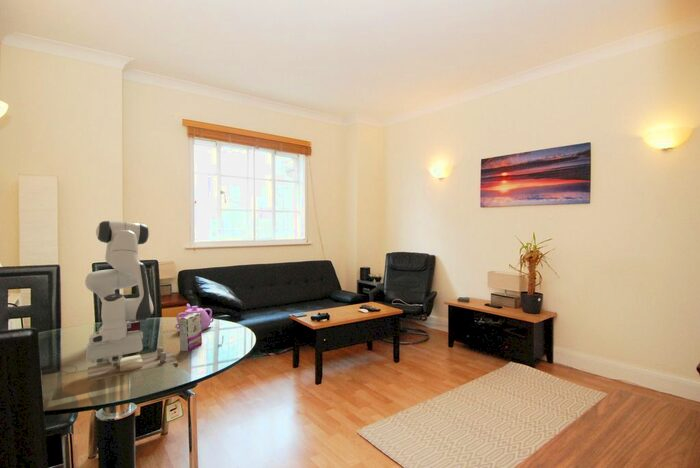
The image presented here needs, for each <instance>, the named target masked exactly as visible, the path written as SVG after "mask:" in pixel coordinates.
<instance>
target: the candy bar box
mask: <svg viewBox="0 0 700 468" xmlns="http://www.w3.org/2000/svg"><path fill="white" fill-rule="evenodd" d="M181 317H182V316H181ZM181 317H179V325H178V327H179V329H178V330H179V346H180V352H190V351H193V350H194V349H196V348H198V347H199V346H201V345H202V344H203V340H202V338H203V336H202V335H203V334H202V330H201V313H192V314H189V315H187V316H184V317H182V318H181Z"/></svg>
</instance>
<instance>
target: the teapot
mask: <svg viewBox="0 0 700 468" xmlns="http://www.w3.org/2000/svg"><path fill="white" fill-rule="evenodd" d="M207 311H209V314H208V312H207ZM192 313H201V331H204V330H207V329H208V328H209V326H210V325H211V324H212V323H213V322H214V318H213V317H212V315H213V310H212V309H211V308H202V307H199V306H198V305H193V306H191V305H190V303H186V309H185V311H184V312H179V313H178V314H177V315H176V321H177V323H176V324H175V326H174V328H175V329H176V330H180V329H179V318H182V317H184V316H187V315H189V314H192ZM180 316H181V317H180Z"/></svg>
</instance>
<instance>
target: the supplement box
mask: <svg viewBox="0 0 700 468" xmlns="http://www.w3.org/2000/svg"><path fill="white" fill-rule="evenodd" d="M128 321H129V322H126V323H127V331H135V330H139V331H141V322H140V321H141V320H128ZM129 354H131V353H129ZM124 355H127V354H123V355H122V356H124Z"/></svg>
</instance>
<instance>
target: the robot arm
mask: <svg viewBox="0 0 700 468" xmlns="http://www.w3.org/2000/svg"><path fill="white" fill-rule="evenodd" d="M95 235H96V237H97V240H98V241H99V242H101V243H104V244H106V249H105V257H104V259H105V261H106V263H107V264H108V265H110V266H111V267H112V268H113V269H101V270H95V271H93V272H92V271H91V272H89V273H88V274H87V276H85V280H84V284H85V287H86V288H87V290H89V291H90V292H93V293H94V294H95V295H97V297H98V298H99V299H100V301H101V315H100V317H101V318H100V319H101V321H102V322H101V323H102V325H101V326H100V328H98V331H96V332H94V333H92V334H90V335H89V337H88V343H87V345H86V350H85V360H86V361H87V362H90V361H97V360H100V359H101V360H102V359H105V358H106V359H107V358H108V361H109V363H112V367H114V366H120V360H121V359H122V358H123V356H124V355H123V354H126V355H128V354H129V353H130V354H133V353H140V352H142V350H143V349H144V347H143V346H144V345H143V341H142V340H143V339H144V332H143V331H142V330H140V331H139V330H135V331H127V323H126V322H129V321H135V320H138V321H146V320H147V319H149V318H150V317H151V316H152V315H153V314H154V304H153V300H152V296H151V291H150V283H149V276H148V272H147V267H146V265H145V264H144V263H143V262H141V261H140V258H139V245H144V244H146V243H147V241H148V240H149V238H150V230H149V227H148V225H146V224H144V223H136V222H130V221H110V220H104V221H101V222H99V223H98V225H97V227H96V230H95ZM135 286H137V287H138V292H139V296H138V297H131V298H130V297H129V298H126V297H125V295H124V294H121V293H116V290H121V289H129V288H133V287H135ZM117 356H118V358H117V360H114V361H113V357H117Z"/></svg>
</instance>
